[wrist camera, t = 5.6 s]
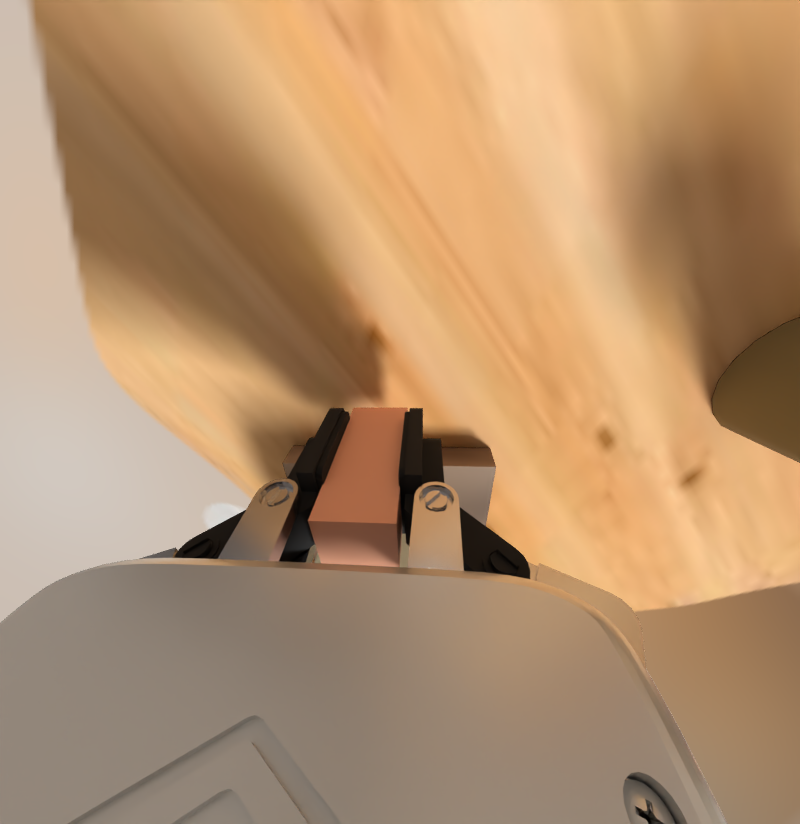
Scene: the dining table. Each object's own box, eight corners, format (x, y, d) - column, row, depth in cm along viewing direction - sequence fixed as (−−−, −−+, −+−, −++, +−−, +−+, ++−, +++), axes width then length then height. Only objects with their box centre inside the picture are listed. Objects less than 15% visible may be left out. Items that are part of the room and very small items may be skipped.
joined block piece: (314, 407, 13) (244, 518, 8) (448, 407, 13) (465, 525, 7) (349, 562, 19) (322, 680, 14) (440, 566, 19) (446, 690, 14)
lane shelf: (293, 445, 17) (259, 500, 13) (490, 448, 16) (508, 507, 12) (339, 605, 26) (327, 661, 23) (464, 612, 25) (471, 671, 22)
